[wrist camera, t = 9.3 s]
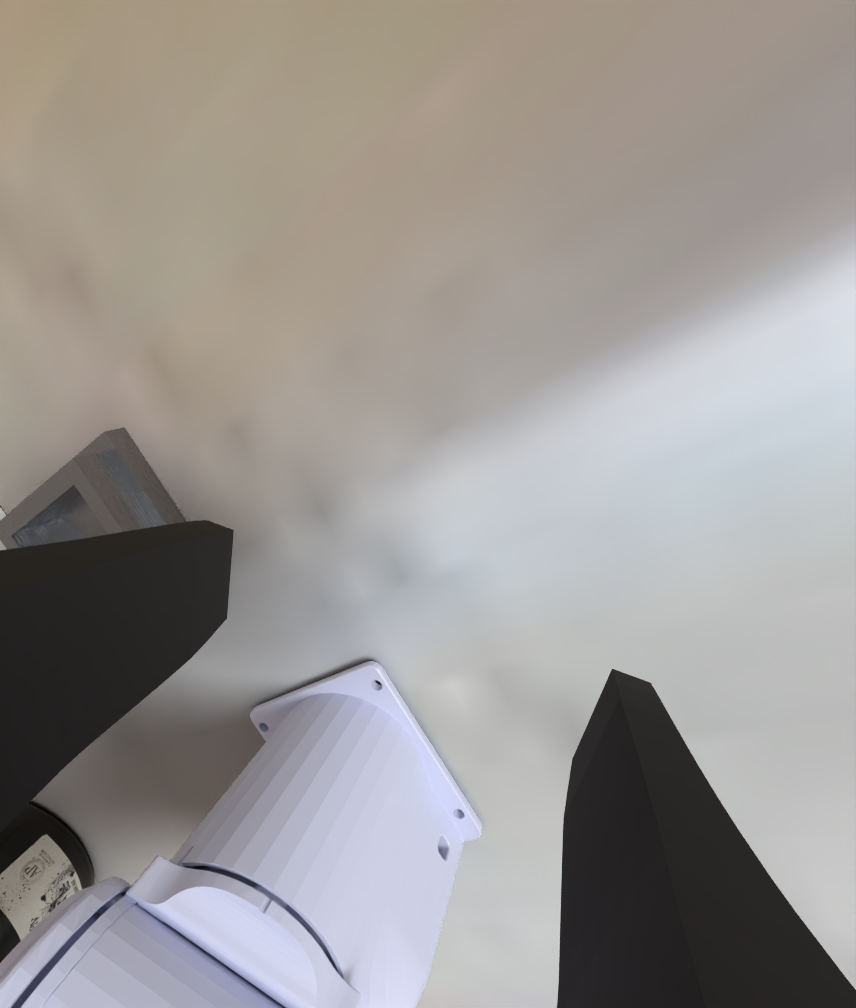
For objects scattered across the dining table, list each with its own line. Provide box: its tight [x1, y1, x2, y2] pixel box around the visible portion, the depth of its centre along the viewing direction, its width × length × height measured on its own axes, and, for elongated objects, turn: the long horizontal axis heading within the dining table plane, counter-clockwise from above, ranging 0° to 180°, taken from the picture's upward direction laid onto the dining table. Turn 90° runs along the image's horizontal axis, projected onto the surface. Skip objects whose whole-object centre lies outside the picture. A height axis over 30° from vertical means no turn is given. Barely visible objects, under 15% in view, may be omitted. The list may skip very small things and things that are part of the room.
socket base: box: [0, 428, 186, 549], centre depth 24 cm, size 8×8×2 cm
